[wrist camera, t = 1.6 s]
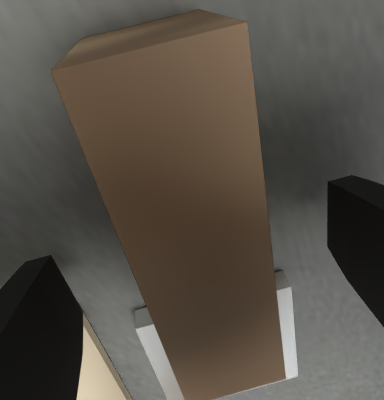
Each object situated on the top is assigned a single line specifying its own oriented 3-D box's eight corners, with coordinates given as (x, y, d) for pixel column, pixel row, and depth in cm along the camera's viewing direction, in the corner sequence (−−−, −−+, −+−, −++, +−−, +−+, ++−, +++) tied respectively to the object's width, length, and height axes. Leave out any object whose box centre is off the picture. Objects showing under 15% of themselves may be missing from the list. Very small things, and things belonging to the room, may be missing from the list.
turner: (255, -6, 7) (344, -3, 4) (290, 357, 14) (332, 454, 11) (22, 52, 7) (-51, 96, 4) (170, 391, 14) (182, 498, 11)
